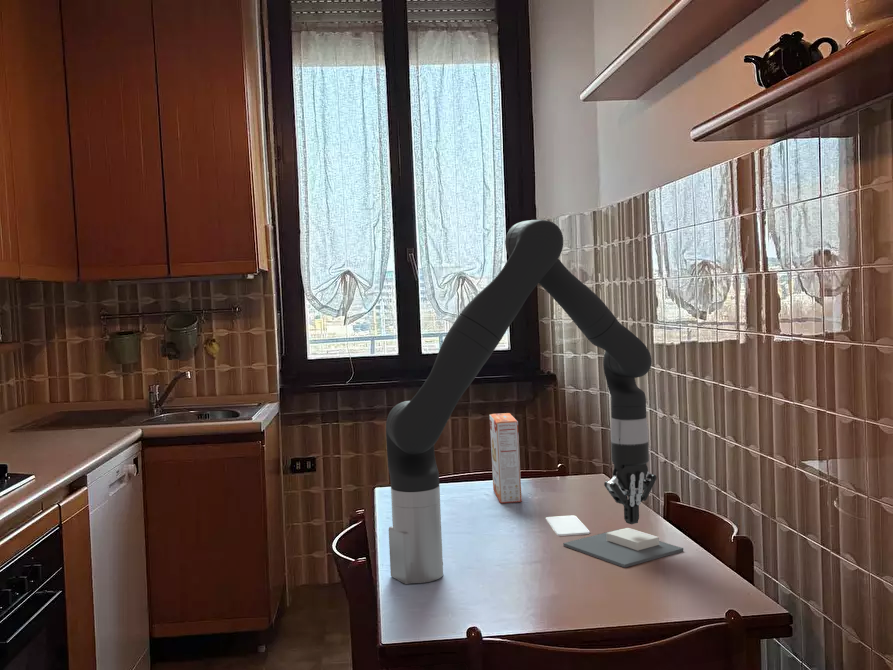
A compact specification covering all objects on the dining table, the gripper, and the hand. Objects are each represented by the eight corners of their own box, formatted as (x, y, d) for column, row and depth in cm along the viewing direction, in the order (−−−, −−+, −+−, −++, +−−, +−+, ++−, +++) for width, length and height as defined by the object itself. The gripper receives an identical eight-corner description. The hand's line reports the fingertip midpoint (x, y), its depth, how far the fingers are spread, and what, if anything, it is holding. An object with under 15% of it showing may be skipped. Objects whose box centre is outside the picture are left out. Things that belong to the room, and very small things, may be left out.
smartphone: (575, 515, 201) (590, 532, 186) (575, 518, 201) (591, 535, 186) (544, 517, 201) (557, 534, 186) (544, 520, 201) (557, 537, 186)
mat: (624, 567, 163) (624, 564, 163) (563, 545, 179) (563, 543, 179) (683, 551, 172) (683, 548, 172) (620, 531, 187) (620, 528, 187)
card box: (637, 542, 171) (659, 537, 174) (606, 532, 179) (627, 527, 182) (637, 551, 171) (659, 545, 174) (606, 540, 179) (627, 535, 182)
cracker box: (491, 491, 229) (488, 413, 228) (514, 489, 230) (511, 412, 229) (498, 504, 216) (495, 421, 214) (522, 502, 216) (519, 420, 215)
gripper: (618, 446, 169) (621, 533, 170) (666, 437, 176) (668, 521, 177) (592, 441, 175) (595, 525, 176) (639, 433, 182) (642, 513, 183)
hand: (631, 522), depth 177 cm, fingers closed
